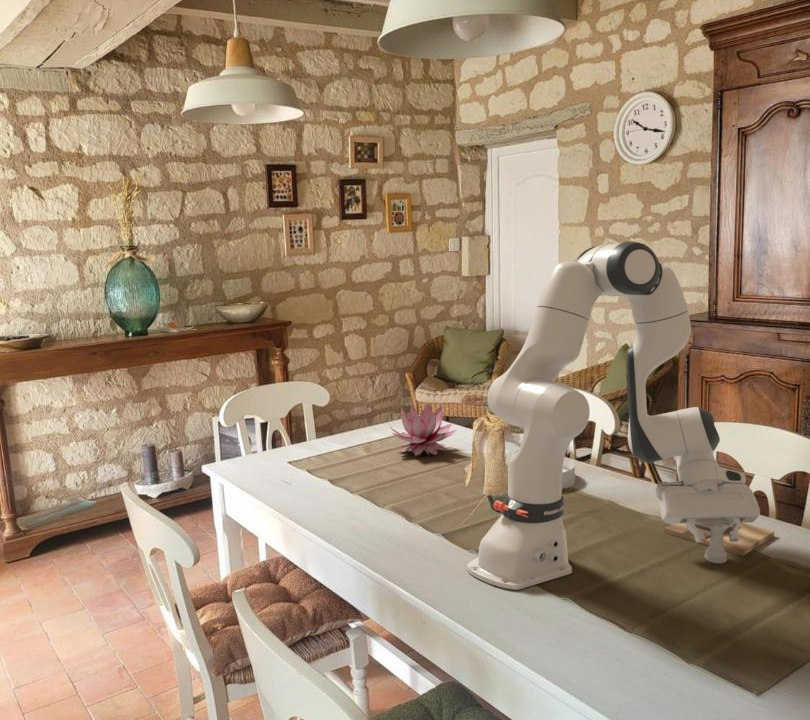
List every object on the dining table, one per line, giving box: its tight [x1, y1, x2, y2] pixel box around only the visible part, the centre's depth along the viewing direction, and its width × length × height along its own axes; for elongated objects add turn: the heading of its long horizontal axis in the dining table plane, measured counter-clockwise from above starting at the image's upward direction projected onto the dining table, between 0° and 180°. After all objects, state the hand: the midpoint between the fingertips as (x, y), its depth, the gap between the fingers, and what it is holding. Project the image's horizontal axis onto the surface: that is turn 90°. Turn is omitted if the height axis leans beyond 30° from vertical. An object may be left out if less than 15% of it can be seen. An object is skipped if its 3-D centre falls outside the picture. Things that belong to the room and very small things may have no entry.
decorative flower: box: [389, 402, 457, 456], centre depth 240 cm, size 21×21×15 cm
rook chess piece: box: [704, 521, 728, 565], centre depth 156 cm, size 4×4×8 cm
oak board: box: [663, 523, 775, 557], centre depth 170 cm, size 16×18×2 cm
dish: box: [562, 457, 576, 489], centre depth 212 cm, size 22×22×5 cm
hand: (717, 541), depth 155 cm, fingers open, 6 cm apart
